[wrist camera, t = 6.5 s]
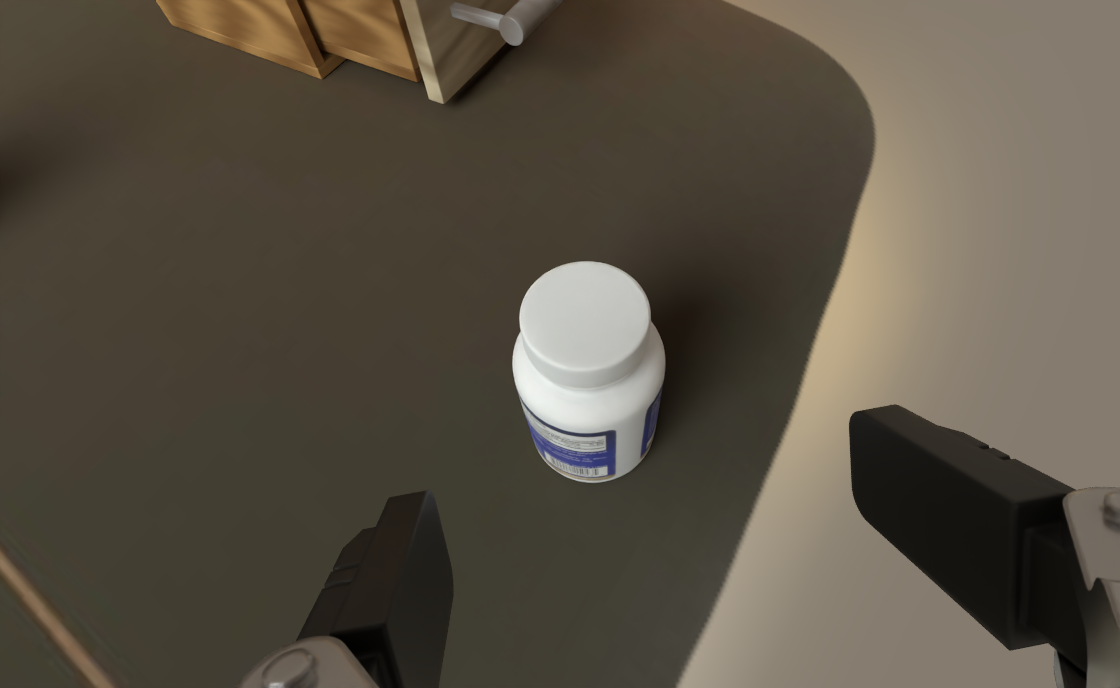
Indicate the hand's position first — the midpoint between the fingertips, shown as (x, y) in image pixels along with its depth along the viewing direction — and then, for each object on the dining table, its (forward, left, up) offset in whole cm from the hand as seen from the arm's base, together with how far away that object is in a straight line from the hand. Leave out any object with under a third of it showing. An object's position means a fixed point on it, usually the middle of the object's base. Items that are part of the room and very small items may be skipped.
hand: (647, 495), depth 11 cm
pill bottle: (0, -7, -13) cm, 14 cm away
